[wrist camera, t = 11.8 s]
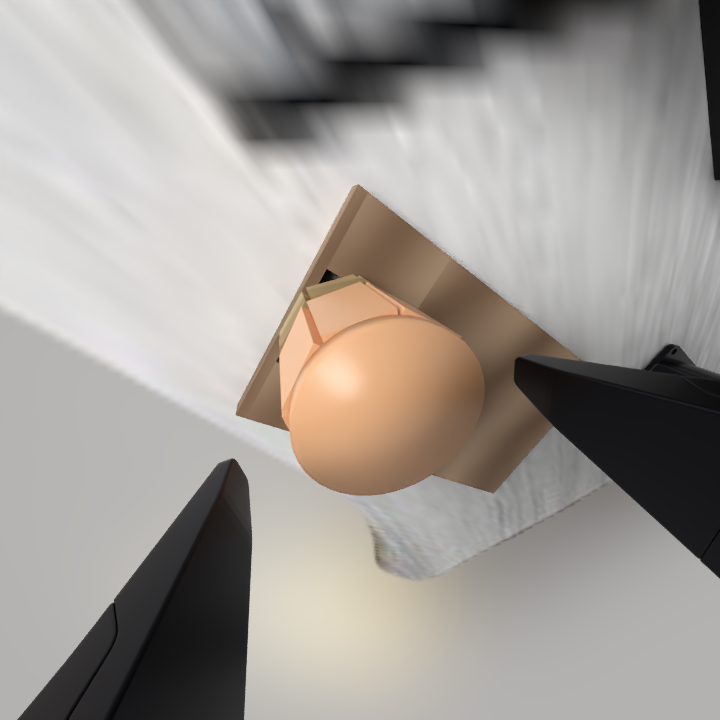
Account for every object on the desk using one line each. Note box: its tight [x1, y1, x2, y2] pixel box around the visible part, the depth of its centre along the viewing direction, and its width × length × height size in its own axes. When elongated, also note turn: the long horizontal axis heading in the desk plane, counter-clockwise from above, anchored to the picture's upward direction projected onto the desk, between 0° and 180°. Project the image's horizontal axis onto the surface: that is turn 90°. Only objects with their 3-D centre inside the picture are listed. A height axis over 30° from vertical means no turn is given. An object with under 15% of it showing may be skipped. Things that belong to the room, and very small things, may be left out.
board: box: [236, 185, 581, 493], centre depth 17 cm, size 21×12×3 cm, turn 58°
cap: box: [279, 282, 485, 495], centre depth 11 cm, size 6×6×5 cm
